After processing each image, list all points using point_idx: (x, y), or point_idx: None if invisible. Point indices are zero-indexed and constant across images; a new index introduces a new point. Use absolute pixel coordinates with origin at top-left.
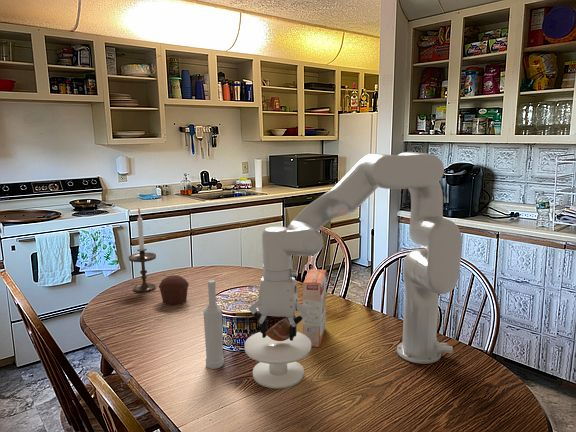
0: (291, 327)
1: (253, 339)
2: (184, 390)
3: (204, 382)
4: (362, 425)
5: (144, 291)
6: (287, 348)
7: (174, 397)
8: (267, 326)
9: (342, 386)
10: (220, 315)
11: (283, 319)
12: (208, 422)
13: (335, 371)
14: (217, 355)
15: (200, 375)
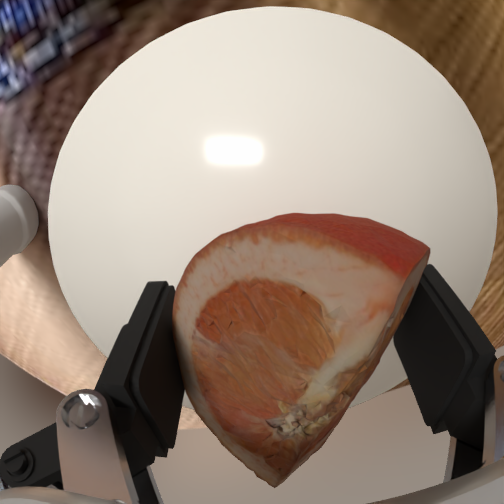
0: (443, 429)
1: (89, 271)
2: (51, 348)
3: (60, 312)
4: (495, 345)
5: None
6: None
7: (57, 370)
8: (158, 343)
9: (497, 221)
10: None
11: (369, 355)
12: (180, 421)
13: (485, 129)
14: (8, 256)
15: (28, 283)
